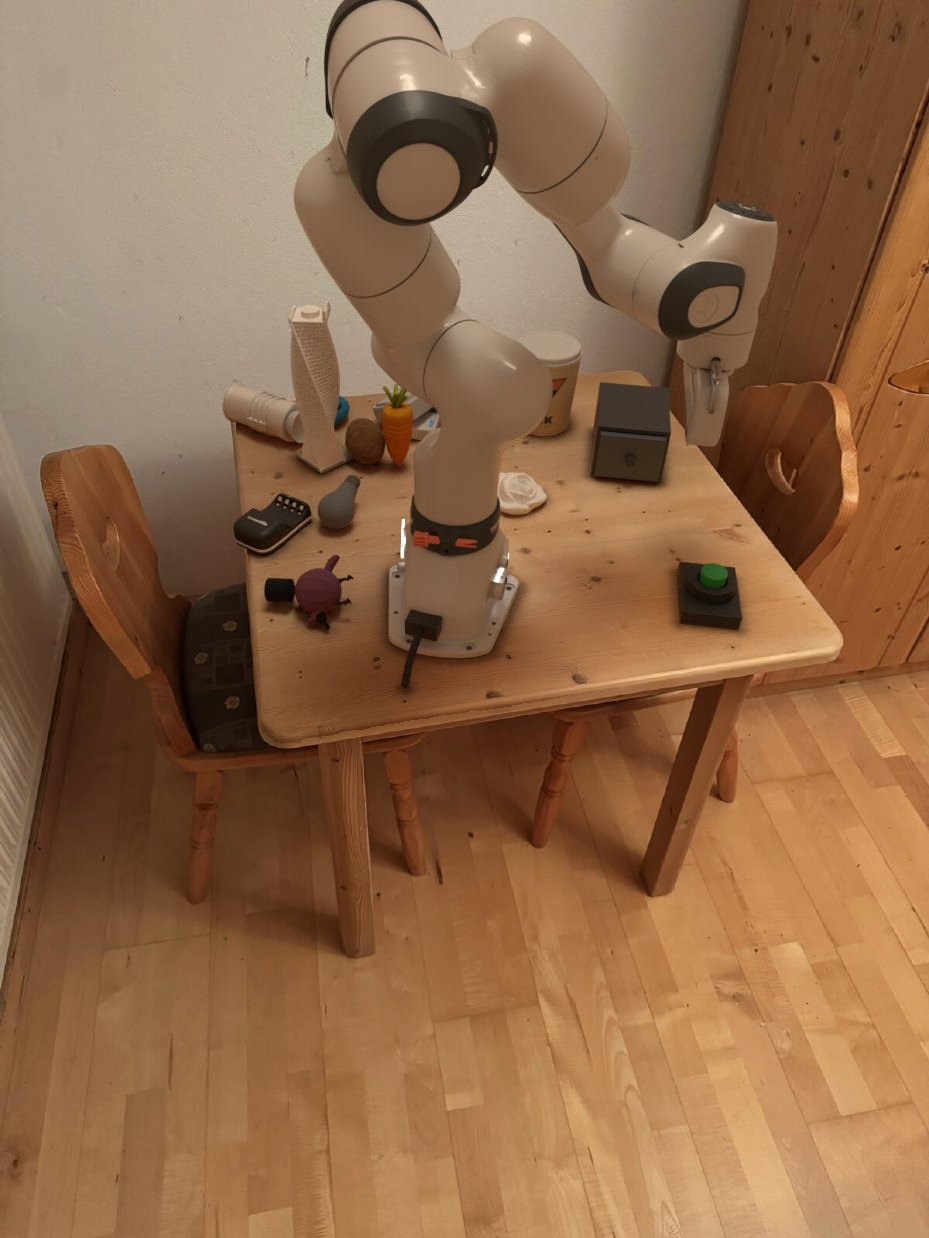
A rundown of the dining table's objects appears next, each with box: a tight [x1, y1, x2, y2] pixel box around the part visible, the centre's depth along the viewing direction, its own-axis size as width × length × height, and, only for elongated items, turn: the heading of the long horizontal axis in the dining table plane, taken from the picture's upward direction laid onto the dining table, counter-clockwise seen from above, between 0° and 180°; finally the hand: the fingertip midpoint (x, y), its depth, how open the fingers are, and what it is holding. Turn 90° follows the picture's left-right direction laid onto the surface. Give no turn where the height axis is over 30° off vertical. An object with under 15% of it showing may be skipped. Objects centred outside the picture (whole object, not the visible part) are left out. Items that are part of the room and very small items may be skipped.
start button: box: [699, 562, 728, 589], centre depth 123 cm, size 4×4×2 cm
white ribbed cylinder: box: [221, 383, 305, 444], centre depth 154 cm, size 7×7×15 cm
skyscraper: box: [287, 299, 356, 475], centre depth 140 cm, size 8×8×28 cm
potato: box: [344, 417, 386, 465], centre depth 148 cm, size 7×10×6 cm
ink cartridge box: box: [381, 407, 441, 441], centre depth 158 cm, size 2×11×10 cm
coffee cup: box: [516, 329, 584, 437], centre depth 155 cm, size 12×12×15 cm
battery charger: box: [232, 492, 313, 556], centre depth 134 cm, size 7×4×11 cm
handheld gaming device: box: [372, 387, 433, 423], centre depth 158 cm, size 9×15×4 cm, turn 153°
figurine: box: [263, 554, 355, 631], centre depth 121 cm, size 8×8×12 cm
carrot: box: [381, 383, 413, 467], centre depth 144 cm, size 5×5×15 cm
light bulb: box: [317, 474, 362, 530], centre depth 136 cm, size 6×6×10 cm
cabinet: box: [590, 381, 672, 484], centre depth 150 cm, size 15×12×10 cm
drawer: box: [594, 430, 666, 483], centre depth 148 cm, size 15×10×8 cm
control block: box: [676, 561, 743, 631], centre depth 125 cm, size 11×8×4 cm
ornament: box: [334, 395, 351, 427], centre depth 158 cm, size 8×5×10 cm
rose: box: [498, 471, 548, 516], centre depth 141 cm, size 10×4×10 cm
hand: (691, 439), depth 119 cm, fingers closed
